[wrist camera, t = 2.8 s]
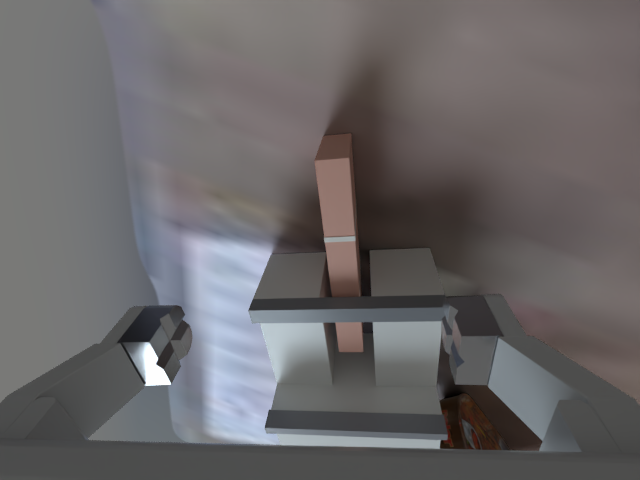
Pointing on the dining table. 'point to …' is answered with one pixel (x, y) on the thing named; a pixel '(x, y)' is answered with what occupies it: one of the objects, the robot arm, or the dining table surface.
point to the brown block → (340, 229)
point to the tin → (468, 426)
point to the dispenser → (354, 367)
